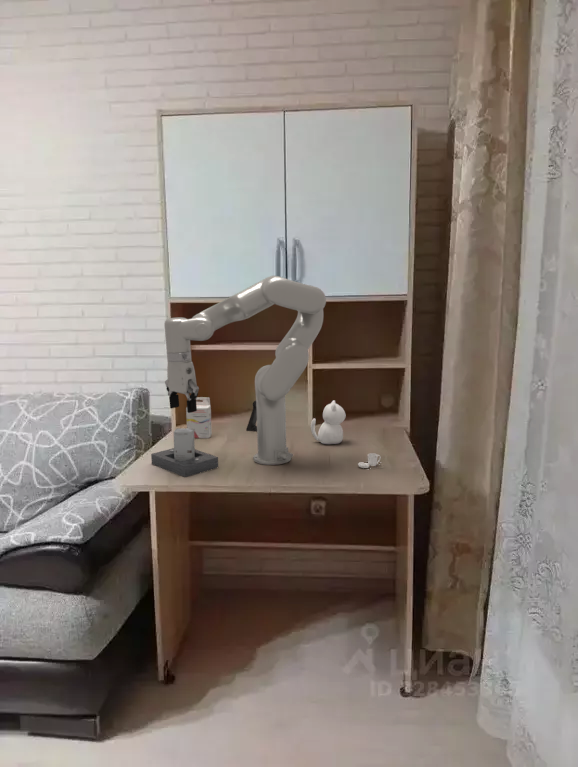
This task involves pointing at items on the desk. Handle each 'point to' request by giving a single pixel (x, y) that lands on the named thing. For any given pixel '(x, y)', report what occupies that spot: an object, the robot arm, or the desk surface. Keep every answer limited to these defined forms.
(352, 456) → the desk surface
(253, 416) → the phone stand
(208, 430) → the ink cartridge box
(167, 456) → the grey rectangular frame
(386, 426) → the desk surface
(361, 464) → the teacup and saucer
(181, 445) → the skincare box
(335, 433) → the cat figurine
